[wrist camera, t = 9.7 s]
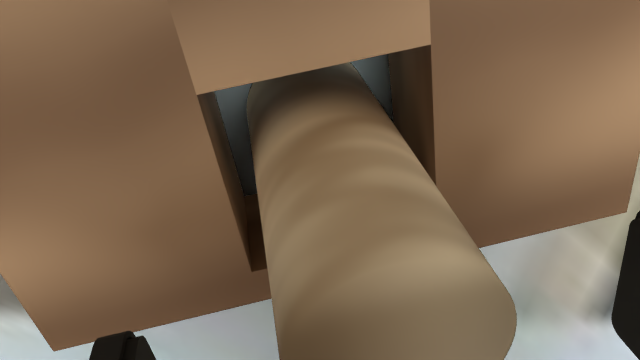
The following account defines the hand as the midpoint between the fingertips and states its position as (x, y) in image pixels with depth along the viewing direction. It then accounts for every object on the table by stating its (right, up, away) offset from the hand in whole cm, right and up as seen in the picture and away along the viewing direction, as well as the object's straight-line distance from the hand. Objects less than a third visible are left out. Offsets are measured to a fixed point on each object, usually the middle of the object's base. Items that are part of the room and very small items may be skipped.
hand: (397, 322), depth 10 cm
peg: (-2, +5, +7) cm, 9 cm away
